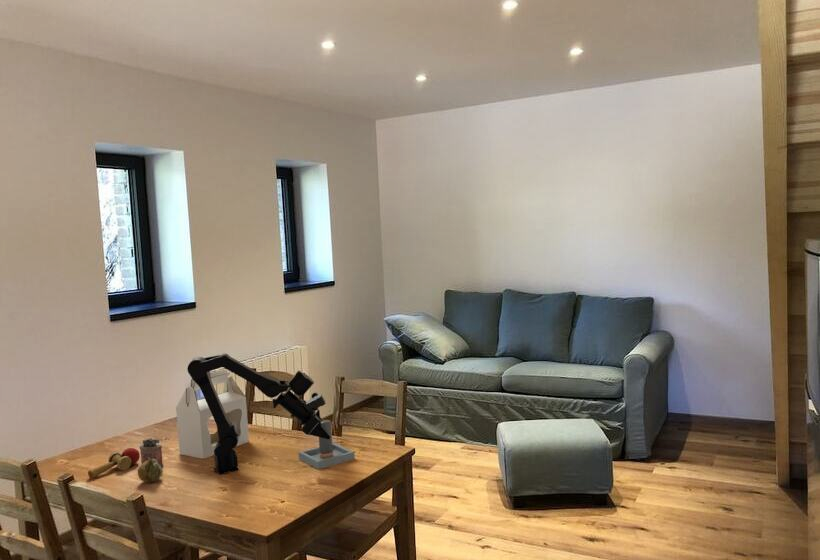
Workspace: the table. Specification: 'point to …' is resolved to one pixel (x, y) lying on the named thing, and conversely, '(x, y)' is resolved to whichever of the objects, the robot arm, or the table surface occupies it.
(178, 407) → the gable box
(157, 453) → the lighter
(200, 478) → the table surface
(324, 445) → the grey rounded peg
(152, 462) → the olive green lumpy ball
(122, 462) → the kendama
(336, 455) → the tray
